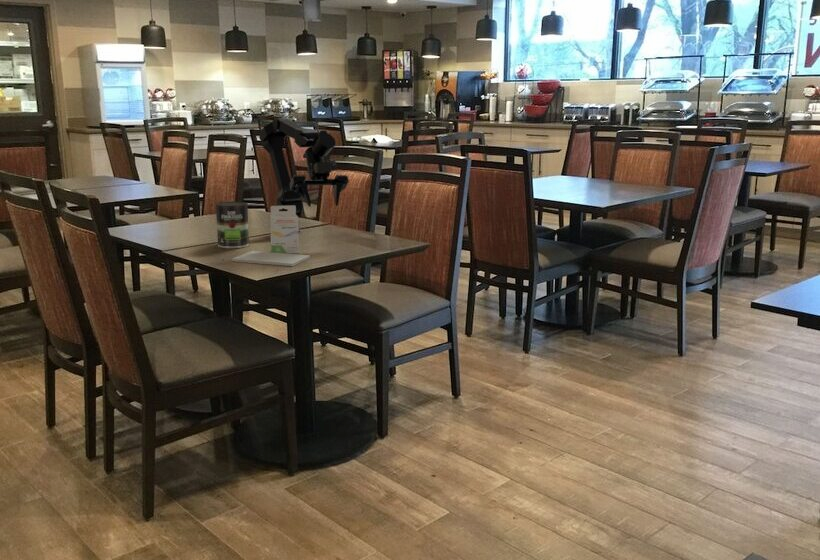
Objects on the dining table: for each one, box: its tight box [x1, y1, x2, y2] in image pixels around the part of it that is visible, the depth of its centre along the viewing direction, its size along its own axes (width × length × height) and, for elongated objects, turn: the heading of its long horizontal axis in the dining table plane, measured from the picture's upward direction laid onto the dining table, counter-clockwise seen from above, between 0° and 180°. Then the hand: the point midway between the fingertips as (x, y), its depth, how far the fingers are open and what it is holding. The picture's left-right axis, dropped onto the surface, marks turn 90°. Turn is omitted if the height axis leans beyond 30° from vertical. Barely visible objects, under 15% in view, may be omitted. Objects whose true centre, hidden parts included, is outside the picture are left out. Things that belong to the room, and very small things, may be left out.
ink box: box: [269, 205, 300, 254], centre depth 235 cm, size 9×5×15 cm, turn 105°
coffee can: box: [215, 201, 250, 250], centre depth 245 cm, size 10×10×14 cm
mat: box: [231, 250, 311, 267], centre depth 226 cm, size 20×12×1 cm, turn 72°
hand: (323, 205), depth 241 cm, fingers open, 9 cm apart
